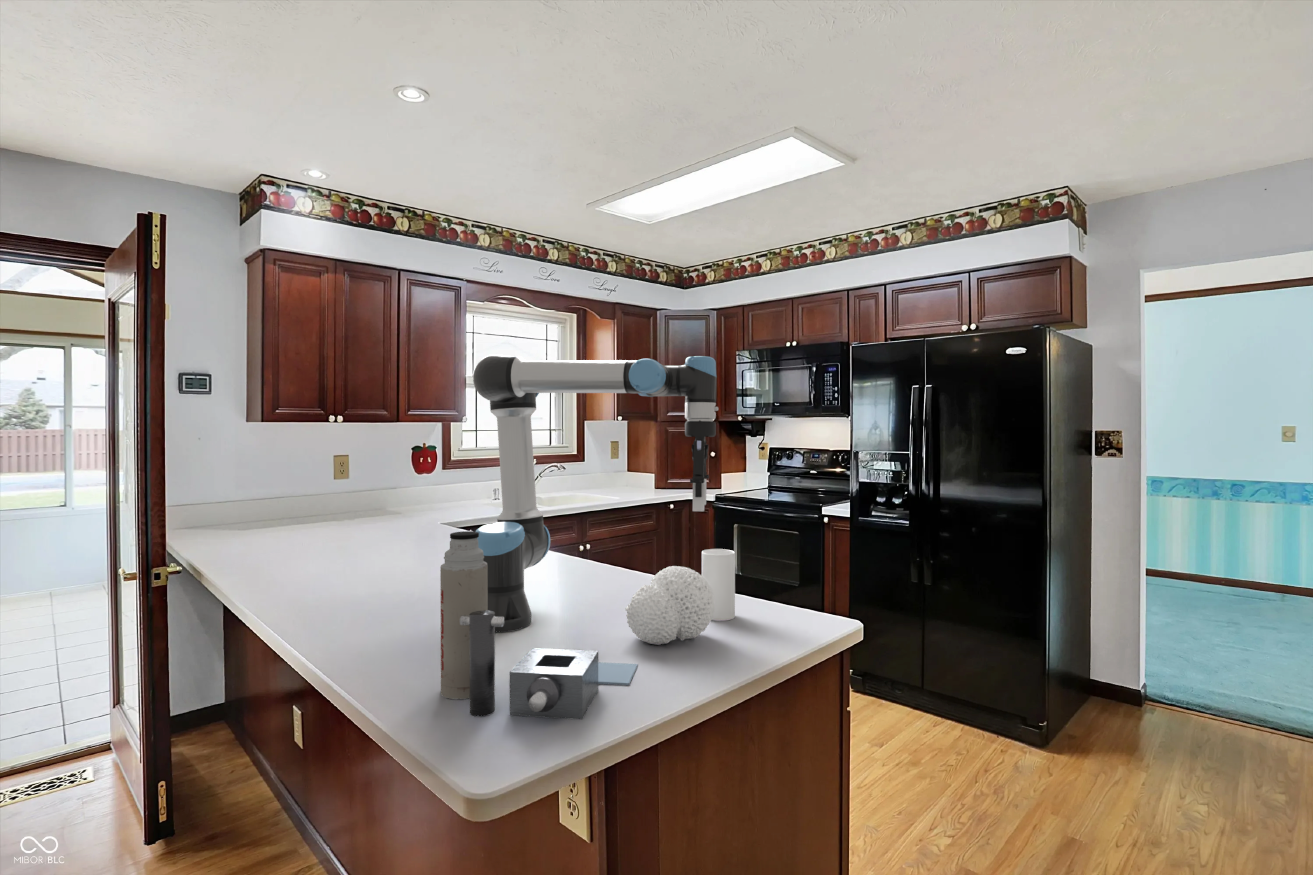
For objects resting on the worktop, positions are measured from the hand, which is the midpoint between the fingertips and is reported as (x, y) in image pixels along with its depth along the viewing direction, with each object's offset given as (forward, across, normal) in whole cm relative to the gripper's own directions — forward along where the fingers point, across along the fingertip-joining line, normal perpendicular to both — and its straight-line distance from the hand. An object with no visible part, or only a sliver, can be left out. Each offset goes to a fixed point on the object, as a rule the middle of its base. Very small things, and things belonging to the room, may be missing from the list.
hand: (699, 507), depth 162 cm
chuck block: (+27, -55, +22) cm, 65 cm away
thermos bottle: (+28, -49, +39) cm, 69 cm away
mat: (+27, -39, +16) cm, 50 cm away
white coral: (+28, -17, +5) cm, 33 cm away
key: (+27, -57, +33) cm, 72 cm away
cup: (+27, +3, -5) cm, 28 cm away
